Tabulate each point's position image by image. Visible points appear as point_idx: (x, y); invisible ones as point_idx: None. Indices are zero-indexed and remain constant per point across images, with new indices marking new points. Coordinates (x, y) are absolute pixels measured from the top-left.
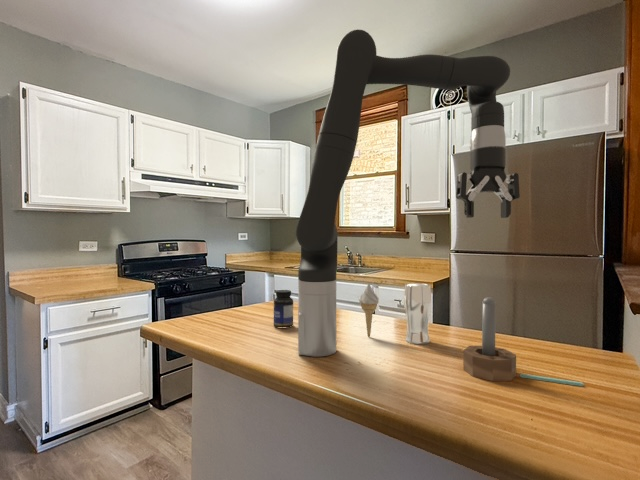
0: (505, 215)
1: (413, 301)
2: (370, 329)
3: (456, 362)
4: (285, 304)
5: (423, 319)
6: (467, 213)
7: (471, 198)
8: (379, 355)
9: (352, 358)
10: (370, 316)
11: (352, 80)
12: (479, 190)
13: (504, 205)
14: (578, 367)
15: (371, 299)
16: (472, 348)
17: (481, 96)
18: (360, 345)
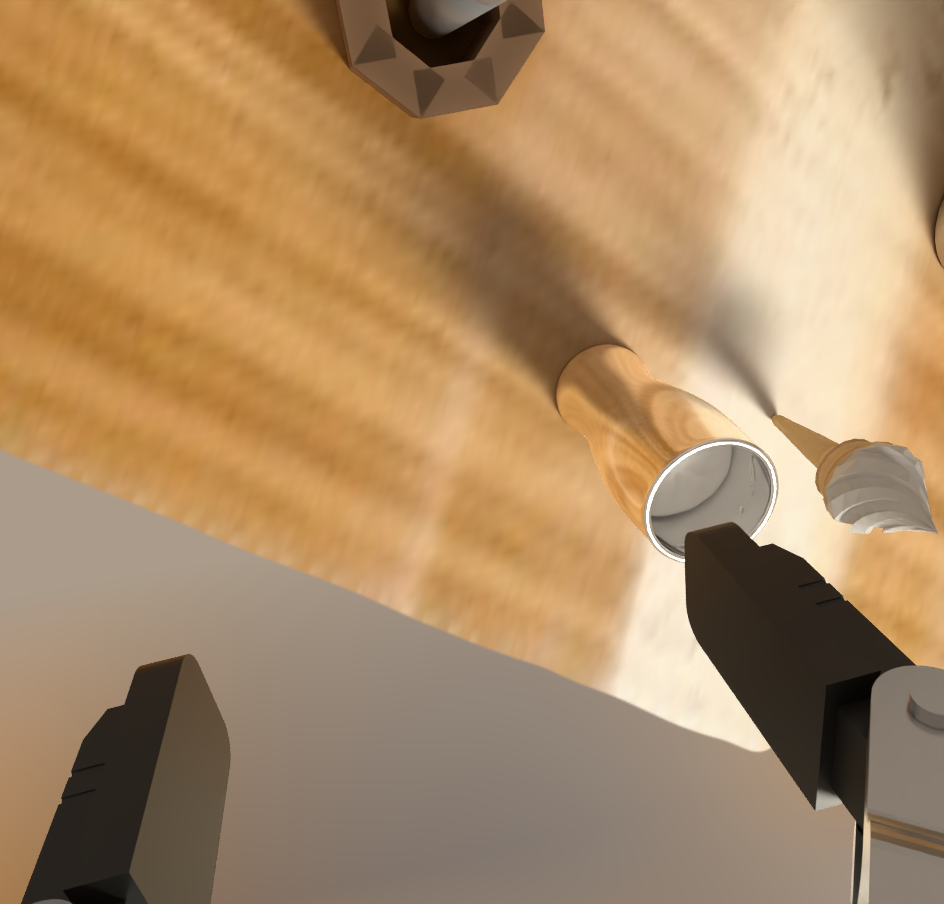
0: (189, 676)
1: (713, 406)
2: (787, 426)
3: (524, 126)
4: None
5: (628, 383)
6: (791, 554)
7: (922, 697)
8: (793, 184)
9: (898, 136)
10: (823, 443)
11: None
12: (901, 880)
13: (166, 842)
14: (20, 107)
15: (879, 461)
16: (496, 61)
17: None
18: (831, 303)
